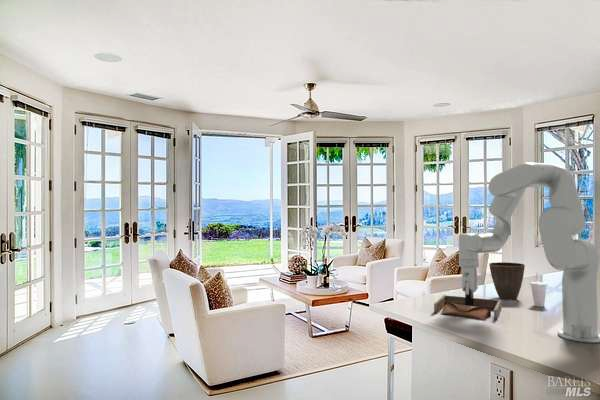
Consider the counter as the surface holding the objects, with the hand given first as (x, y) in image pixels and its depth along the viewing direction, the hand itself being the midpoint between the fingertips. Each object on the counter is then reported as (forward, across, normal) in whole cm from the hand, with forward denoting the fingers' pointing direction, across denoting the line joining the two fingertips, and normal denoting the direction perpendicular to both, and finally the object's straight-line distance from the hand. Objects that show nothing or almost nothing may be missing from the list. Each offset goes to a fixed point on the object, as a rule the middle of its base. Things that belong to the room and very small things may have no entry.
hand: (469, 307), depth 176 cm
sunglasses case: (+2, -10, 0) cm, 10 cm away
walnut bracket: (+1, -3, 0) cm, 3 cm away
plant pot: (+1, +32, -12) cm, 34 cm away
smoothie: (+1, +22, -25) cm, 33 cm away
